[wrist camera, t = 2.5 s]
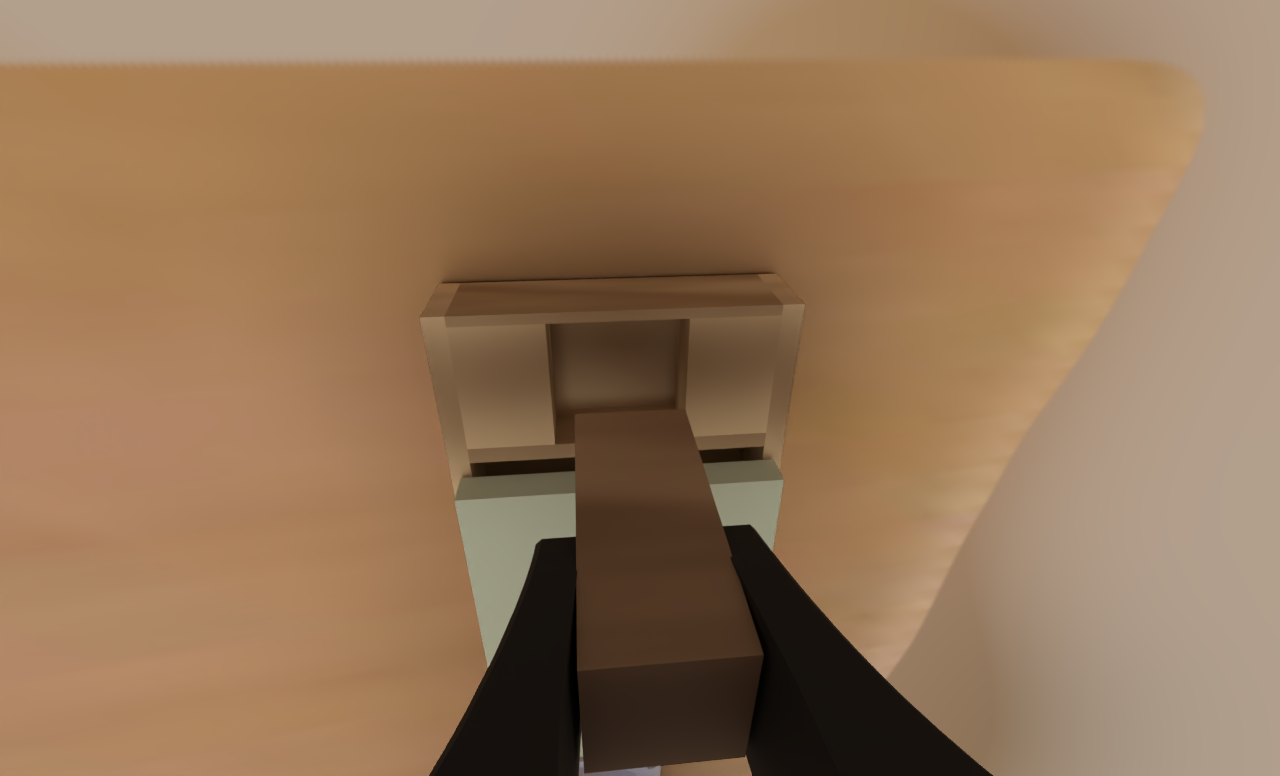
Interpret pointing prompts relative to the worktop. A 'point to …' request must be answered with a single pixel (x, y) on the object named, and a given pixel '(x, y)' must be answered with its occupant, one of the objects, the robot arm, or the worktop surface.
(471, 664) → the worktop surface
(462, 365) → the shallow wooden tray
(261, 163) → the worktop surface
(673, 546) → the dark brown rectangular block
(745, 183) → the worktop surface
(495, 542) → the lid
